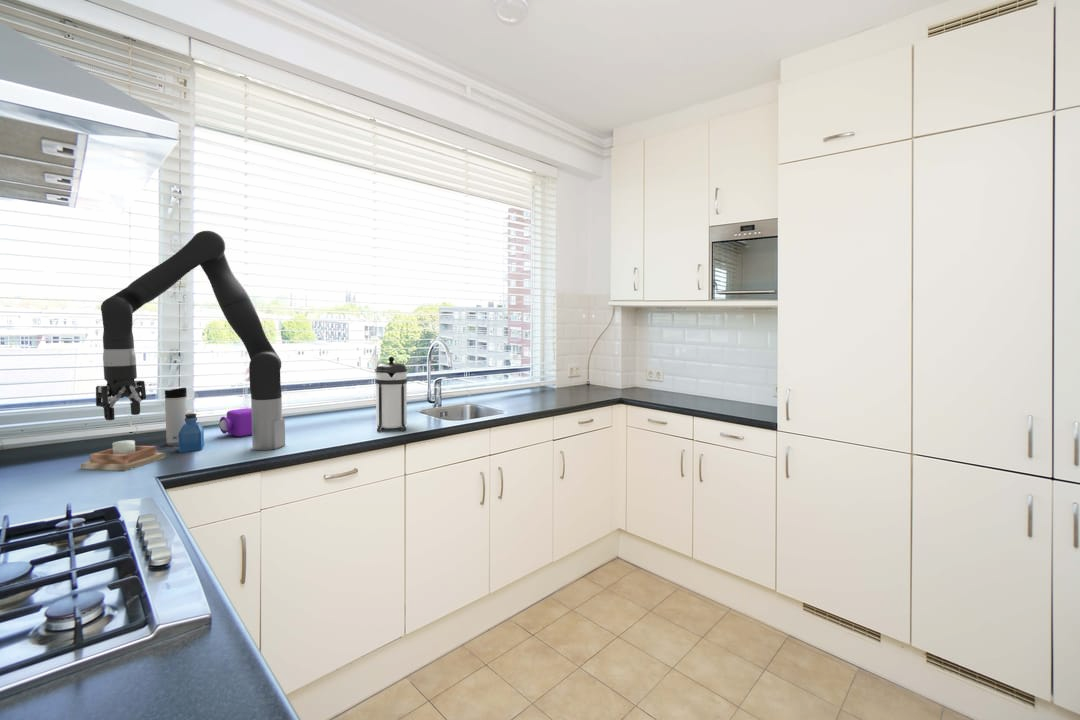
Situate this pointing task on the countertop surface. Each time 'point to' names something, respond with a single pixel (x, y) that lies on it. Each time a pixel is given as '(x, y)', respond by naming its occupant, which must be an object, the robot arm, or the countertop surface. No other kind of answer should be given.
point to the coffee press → (391, 395)
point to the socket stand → (122, 459)
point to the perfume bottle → (191, 435)
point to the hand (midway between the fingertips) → (123, 417)
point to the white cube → (124, 447)
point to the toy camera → (237, 422)
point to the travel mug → (175, 414)
